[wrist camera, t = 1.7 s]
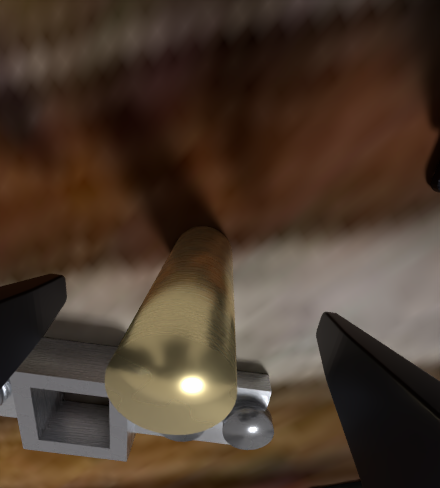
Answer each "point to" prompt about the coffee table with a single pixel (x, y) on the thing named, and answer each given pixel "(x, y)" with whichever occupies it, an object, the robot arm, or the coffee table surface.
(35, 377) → the studded bracket plate
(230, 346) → the link pin
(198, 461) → the coffee table surface
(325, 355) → the robot arm
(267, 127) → the coffee table surface
